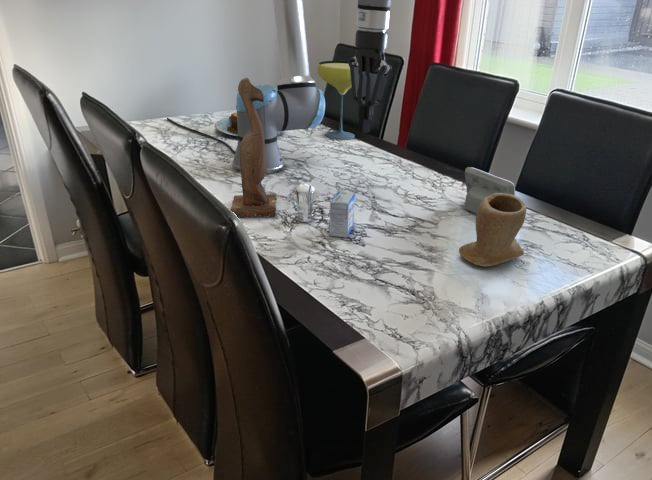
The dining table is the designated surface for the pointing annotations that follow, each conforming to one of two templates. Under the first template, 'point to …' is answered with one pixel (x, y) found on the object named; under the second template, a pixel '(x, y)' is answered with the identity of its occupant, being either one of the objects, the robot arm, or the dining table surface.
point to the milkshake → (305, 202)
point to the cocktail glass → (341, 80)
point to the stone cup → (496, 231)
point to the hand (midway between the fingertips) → (363, 131)
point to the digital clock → (483, 187)
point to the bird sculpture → (253, 161)
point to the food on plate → (228, 125)
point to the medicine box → (342, 214)
